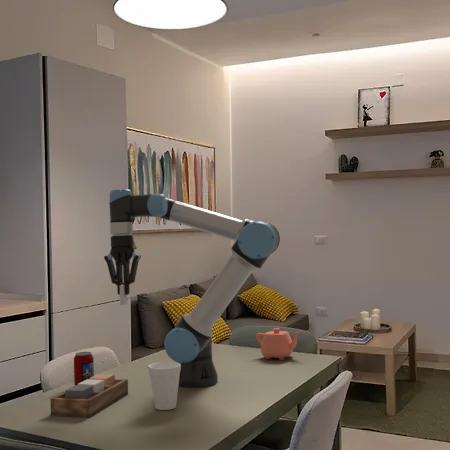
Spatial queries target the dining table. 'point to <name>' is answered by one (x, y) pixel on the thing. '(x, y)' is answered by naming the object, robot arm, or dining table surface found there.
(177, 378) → the cup
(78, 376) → the beverage can
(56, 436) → the dining table surface
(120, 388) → the wooden tray
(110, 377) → the salmon pink square block
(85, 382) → the white square block
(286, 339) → the teapot
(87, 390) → the grey square block
